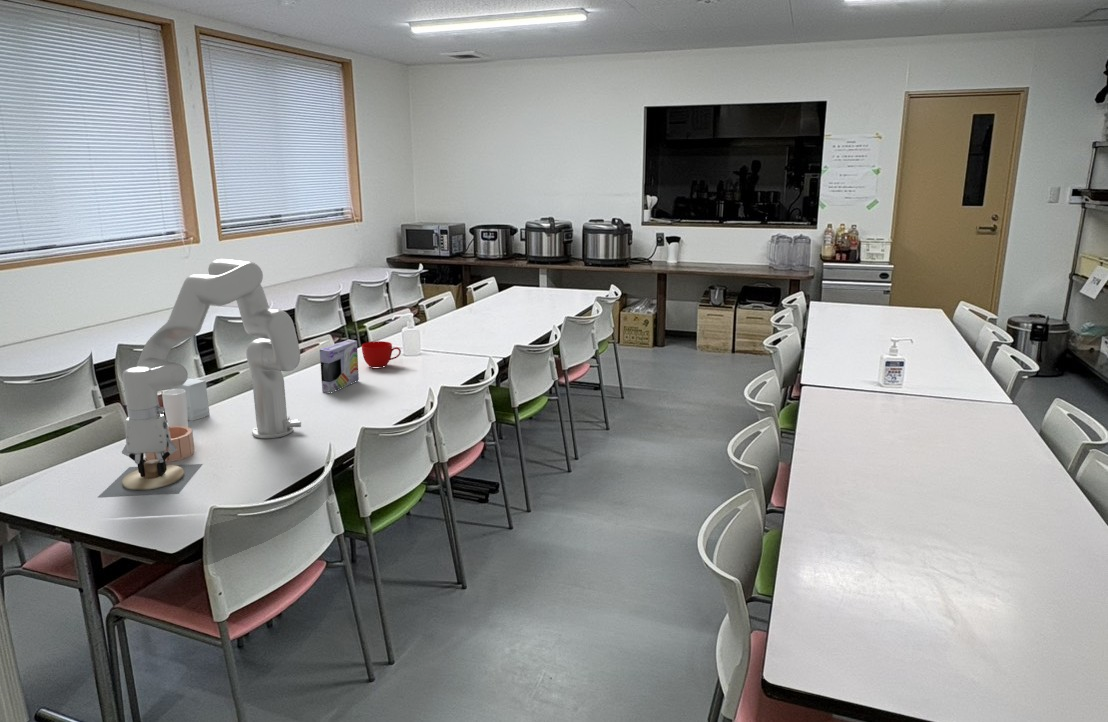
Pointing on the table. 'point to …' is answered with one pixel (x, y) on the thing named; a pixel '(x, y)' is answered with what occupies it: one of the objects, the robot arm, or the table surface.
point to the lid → (152, 477)
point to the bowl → (177, 444)
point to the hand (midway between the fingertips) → (153, 474)
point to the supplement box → (196, 398)
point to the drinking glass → (176, 407)
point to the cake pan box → (339, 365)
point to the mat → (174, 488)
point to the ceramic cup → (378, 353)
